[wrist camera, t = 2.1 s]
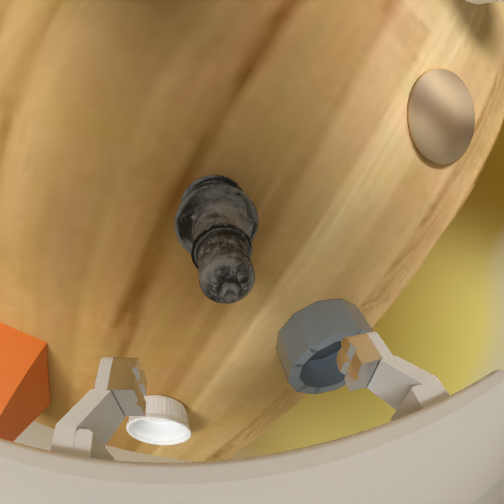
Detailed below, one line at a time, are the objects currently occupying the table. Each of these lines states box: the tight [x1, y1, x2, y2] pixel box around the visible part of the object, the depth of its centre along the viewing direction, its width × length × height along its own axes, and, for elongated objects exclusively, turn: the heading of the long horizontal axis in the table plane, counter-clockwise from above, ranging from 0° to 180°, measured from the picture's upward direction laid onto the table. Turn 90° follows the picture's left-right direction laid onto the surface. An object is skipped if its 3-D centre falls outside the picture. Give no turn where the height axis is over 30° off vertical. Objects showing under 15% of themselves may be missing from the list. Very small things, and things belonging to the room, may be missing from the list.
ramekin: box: [126, 395, 191, 445], centre depth 35 cm, size 9×9×4 cm
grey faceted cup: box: [277, 299, 374, 394], centre depth 32 cm, size 10×10×5 cm
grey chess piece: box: [175, 175, 258, 303], centre depth 19 cm, size 6×6×12 cm
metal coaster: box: [407, 69, 475, 165], centre depth 22 cm, size 10×10×1 cm
